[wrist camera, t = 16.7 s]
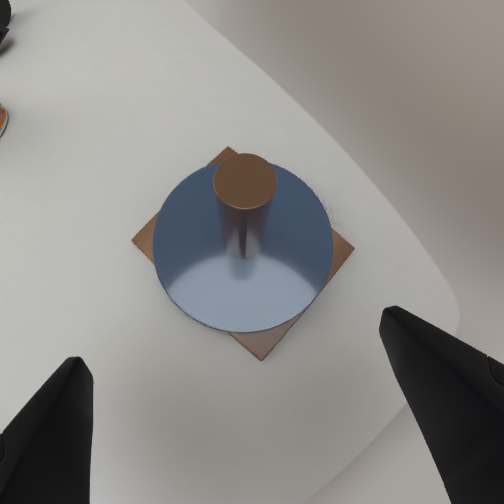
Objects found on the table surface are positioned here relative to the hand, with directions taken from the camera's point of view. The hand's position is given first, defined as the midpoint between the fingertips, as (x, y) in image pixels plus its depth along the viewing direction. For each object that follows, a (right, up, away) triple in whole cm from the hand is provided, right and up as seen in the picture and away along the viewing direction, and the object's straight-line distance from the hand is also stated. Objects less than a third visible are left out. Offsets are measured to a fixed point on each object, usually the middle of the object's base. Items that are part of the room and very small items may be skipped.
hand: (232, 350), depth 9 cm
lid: (0, +3, +12) cm, 13 cm away
